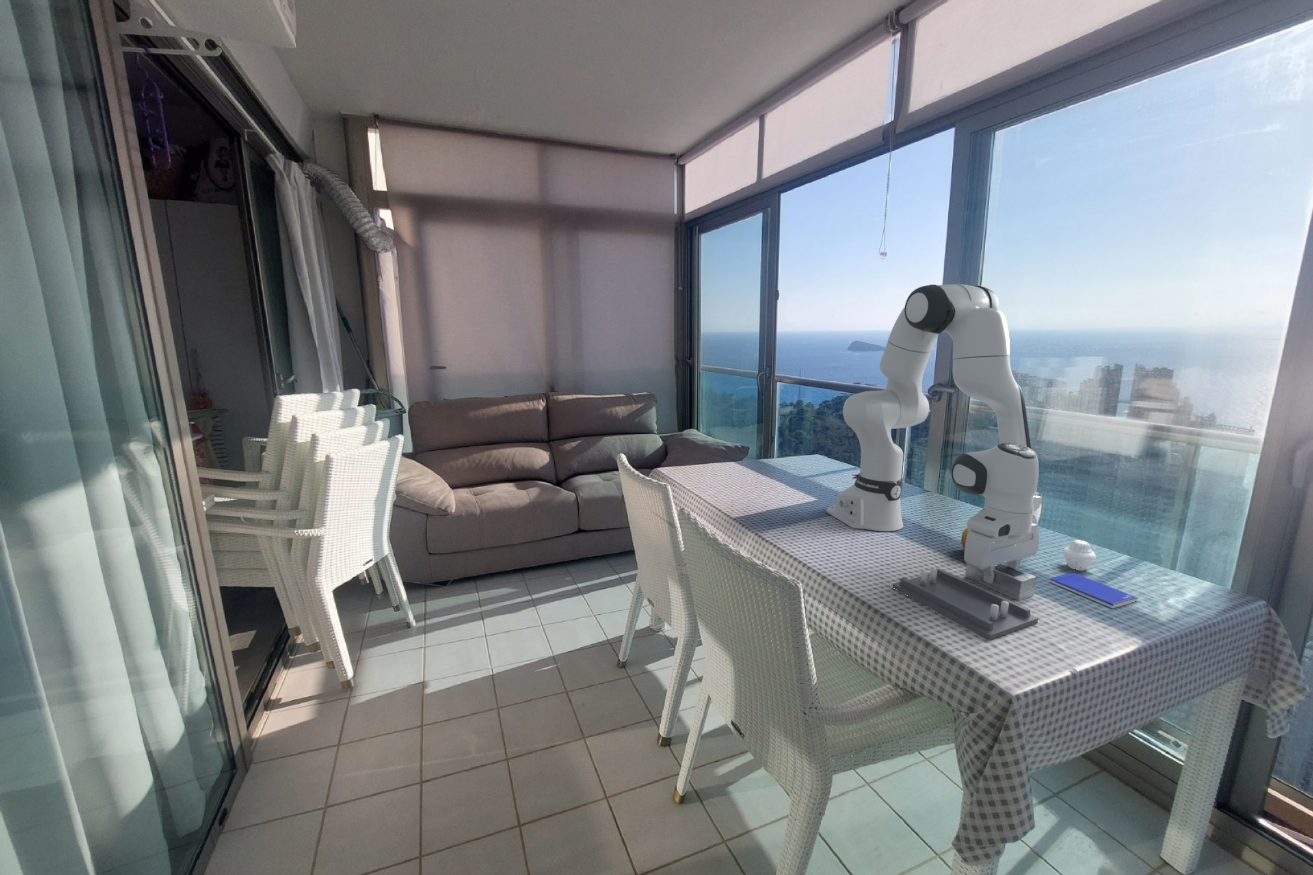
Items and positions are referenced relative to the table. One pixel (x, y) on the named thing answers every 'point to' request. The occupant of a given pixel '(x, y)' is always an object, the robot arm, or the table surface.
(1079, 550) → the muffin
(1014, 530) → the robot arm
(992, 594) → the tray
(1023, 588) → the block
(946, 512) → the table surface
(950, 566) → the table surface
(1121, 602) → the hard drive
